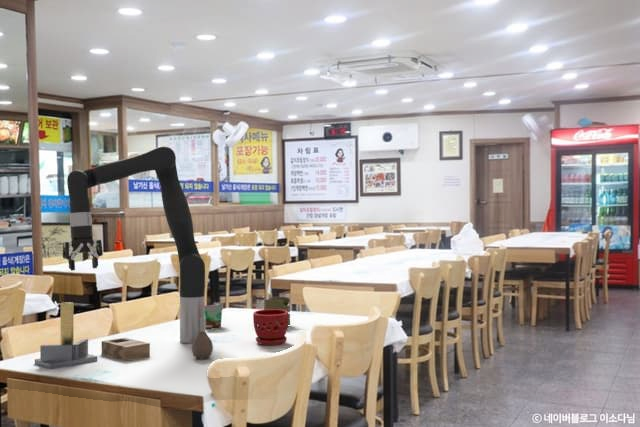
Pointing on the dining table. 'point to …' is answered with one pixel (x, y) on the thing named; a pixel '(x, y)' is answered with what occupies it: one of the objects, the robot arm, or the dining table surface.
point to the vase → (202, 346)
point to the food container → (213, 315)
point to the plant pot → (270, 326)
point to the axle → (67, 323)
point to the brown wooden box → (126, 349)
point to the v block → (64, 355)
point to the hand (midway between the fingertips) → (84, 269)
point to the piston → (278, 304)
